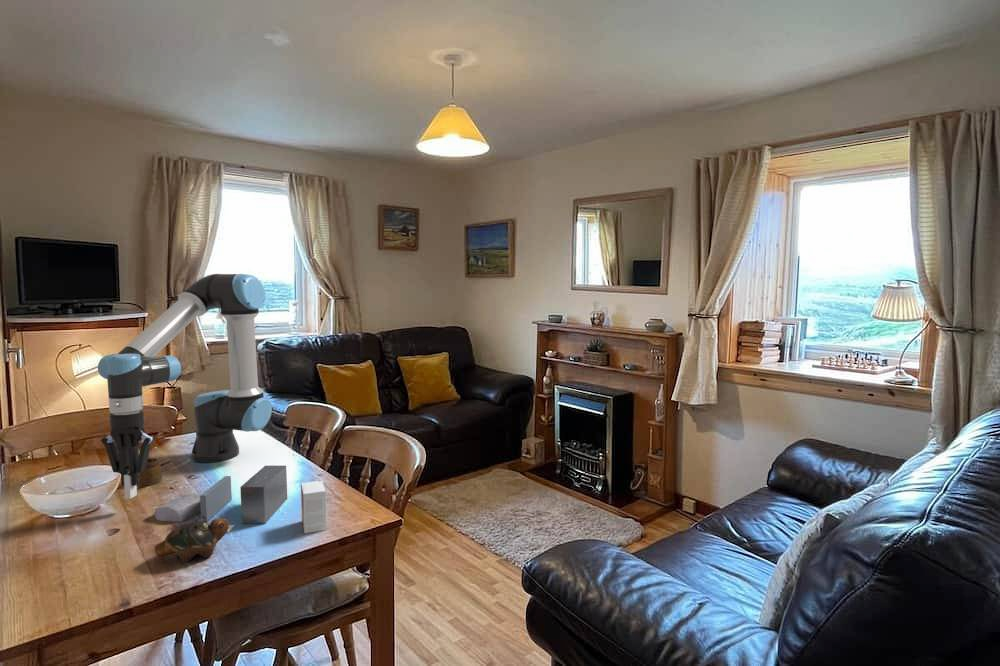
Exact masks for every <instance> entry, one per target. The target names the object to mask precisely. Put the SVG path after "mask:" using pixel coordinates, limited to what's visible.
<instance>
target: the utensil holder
mask: <svg viewBox="0 0 1000 666" xmlns="http://www.w3.org/2000/svg"><path fill="white" fill-rule="evenodd" d="M138 449H139V448H138ZM154 450H155V453H158V452H157V451H161V450H160V448H159V447H157V446H156V447H154V448H152V452H154ZM139 453H140V449H139ZM156 456H157V457H156ZM159 457H160V454H157V455H156V454H153V455H150V458H149V457H148V461H147V466H146V469H145V470H143V471H141V472H139V484H140V485H141V486H151V485H152V486H153V485H157V484H159V483H160V482H161V481H162V479H163V476H162V475H163V474H162V466H161V464H160V459H159Z"/></svg>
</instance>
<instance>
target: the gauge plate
mask: <svg viewBox="0 0 1000 666" xmlns="http://www.w3.org/2000/svg"><path fill="white" fill-rule="evenodd" d="M200 494H201V495H200V508H201V511H200V519H199V520H198V521H203V522H208V521H209V520H210V519H211V518H213V516H215V515H216V514H217V513H218V512H220V511H221V510H223V508H224V507H225V506H226V505H227V504H228V503H230V502H231V501H233V500H232V477H231V475H224V476H223V477H222V478H221V479H220V480H218V481H217V482H216V483H214V484H213V485H212V486H211V487H209V488H208V489H207V490H205V491H204V492H203V493H200Z"/></svg>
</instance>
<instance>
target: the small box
mask: <svg viewBox="0 0 1000 666" xmlns="http://www.w3.org/2000/svg"><path fill="white" fill-rule="evenodd" d="M300 494H301V496H300V497H301V499H300V501H301V504H300V505H301V523H302V527H303V533H304V534H305V535H306V534H309V533H315V532H316V533H317V532H321V531H326V530H327V529H328V528H327V527H328V526H327V523H328V522H327V491H326V488H325V485H324V481H323V480H317V481H309V482H306V481H305V482H301V483H300Z"/></svg>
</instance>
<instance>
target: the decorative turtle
mask: <svg viewBox="0 0 1000 666" xmlns="http://www.w3.org/2000/svg"><path fill="white" fill-rule="evenodd" d="M229 523H230V522H229V521H228V520H227V519H226V518H224V517H217V518H215V519H212V521H210V522H207V521H199V520H197V521H189V522H186V523H184V524H182V525H180V526H177V527H175V528H174V529H172V530H171V531H170V532H169V533H168V534H167V535H166V537H165V539H164V540H163V541H161V542H159V543H157V544H156V545H155V546H154V551H155V554H156V555H155V556H157V557H158V558H161V557H166V556H169V555H174V554H176V555H177V556H178V557H180V560H181V561H182V562H183V563H188V562H190V561H191V560H192V559H193V558H194V557H196V556H197V555H200V556H202V558H204V559H210V558H211V557H212V556H213V553H214V550H215V548H216V546H217V544H218V542H219V541H221V540H222V538H223V537H224V536H225V535H226V533H228V532H227V530H228V528H229V525H230V524H229Z"/></svg>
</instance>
